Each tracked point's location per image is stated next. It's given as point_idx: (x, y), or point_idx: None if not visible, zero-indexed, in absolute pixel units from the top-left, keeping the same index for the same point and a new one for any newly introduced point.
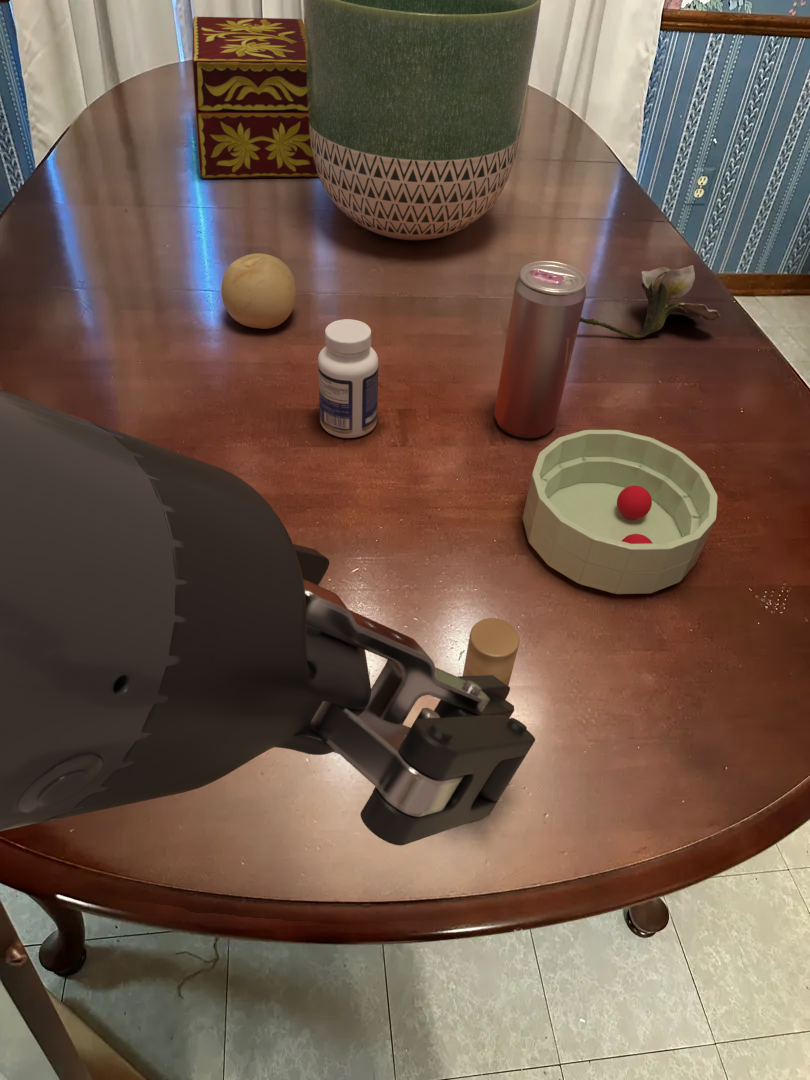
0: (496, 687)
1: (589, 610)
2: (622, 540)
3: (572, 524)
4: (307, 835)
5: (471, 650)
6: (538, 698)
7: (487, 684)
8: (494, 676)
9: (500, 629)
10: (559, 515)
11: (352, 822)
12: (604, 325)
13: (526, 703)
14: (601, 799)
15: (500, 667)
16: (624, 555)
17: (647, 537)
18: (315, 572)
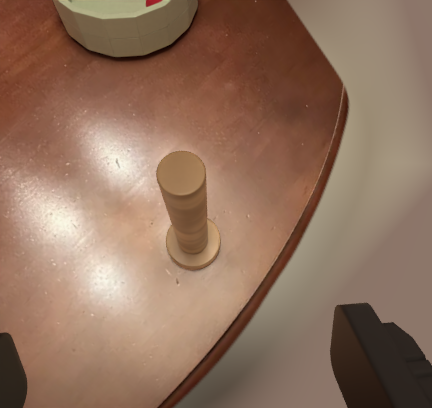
0: (396, 348)
1: (163, 68)
2: (146, 3)
3: (112, 15)
4: (137, 356)
5: (172, 198)
6: None
7: (398, 366)
8: (345, 308)
9: (179, 162)
10: (98, 15)
11: (154, 323)
12: None
13: None
14: (266, 180)
15: (202, 190)
16: (162, 13)
17: None
18: (2, 365)
